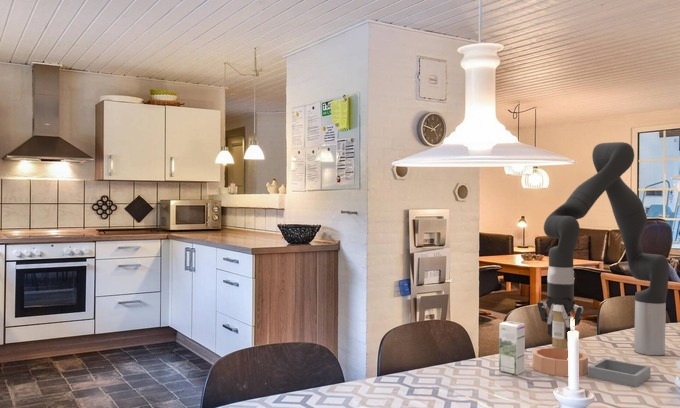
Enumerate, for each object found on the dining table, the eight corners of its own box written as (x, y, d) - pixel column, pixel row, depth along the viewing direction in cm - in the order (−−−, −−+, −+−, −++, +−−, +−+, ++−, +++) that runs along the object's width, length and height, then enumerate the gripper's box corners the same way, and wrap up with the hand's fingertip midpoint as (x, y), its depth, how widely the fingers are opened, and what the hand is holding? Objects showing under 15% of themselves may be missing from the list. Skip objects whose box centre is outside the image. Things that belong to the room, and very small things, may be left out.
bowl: (545, 359, 190) (545, 345, 190) (594, 368, 179) (594, 353, 179) (523, 368, 178) (524, 353, 178) (575, 379, 168) (575, 363, 168)
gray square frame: (604, 368, 180) (604, 358, 180) (650, 377, 171) (650, 366, 171) (588, 377, 170) (588, 366, 170) (636, 387, 162) (636, 376, 162)
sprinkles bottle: (570, 349, 178) (571, 304, 178) (561, 351, 175) (561, 306, 175) (557, 345, 182) (558, 302, 182) (548, 347, 179) (548, 303, 179)
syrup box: (525, 371, 175) (525, 322, 175) (516, 375, 171) (516, 325, 171) (507, 367, 179) (508, 320, 179) (498, 371, 175) (498, 322, 175)
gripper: (589, 282, 176) (588, 339, 177) (543, 278, 186) (542, 332, 186) (579, 285, 171) (578, 344, 171) (532, 280, 181) (532, 336, 181)
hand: (559, 337), depth 179 cm, fingers closed on sprinkles bottle, 4 cm apart
